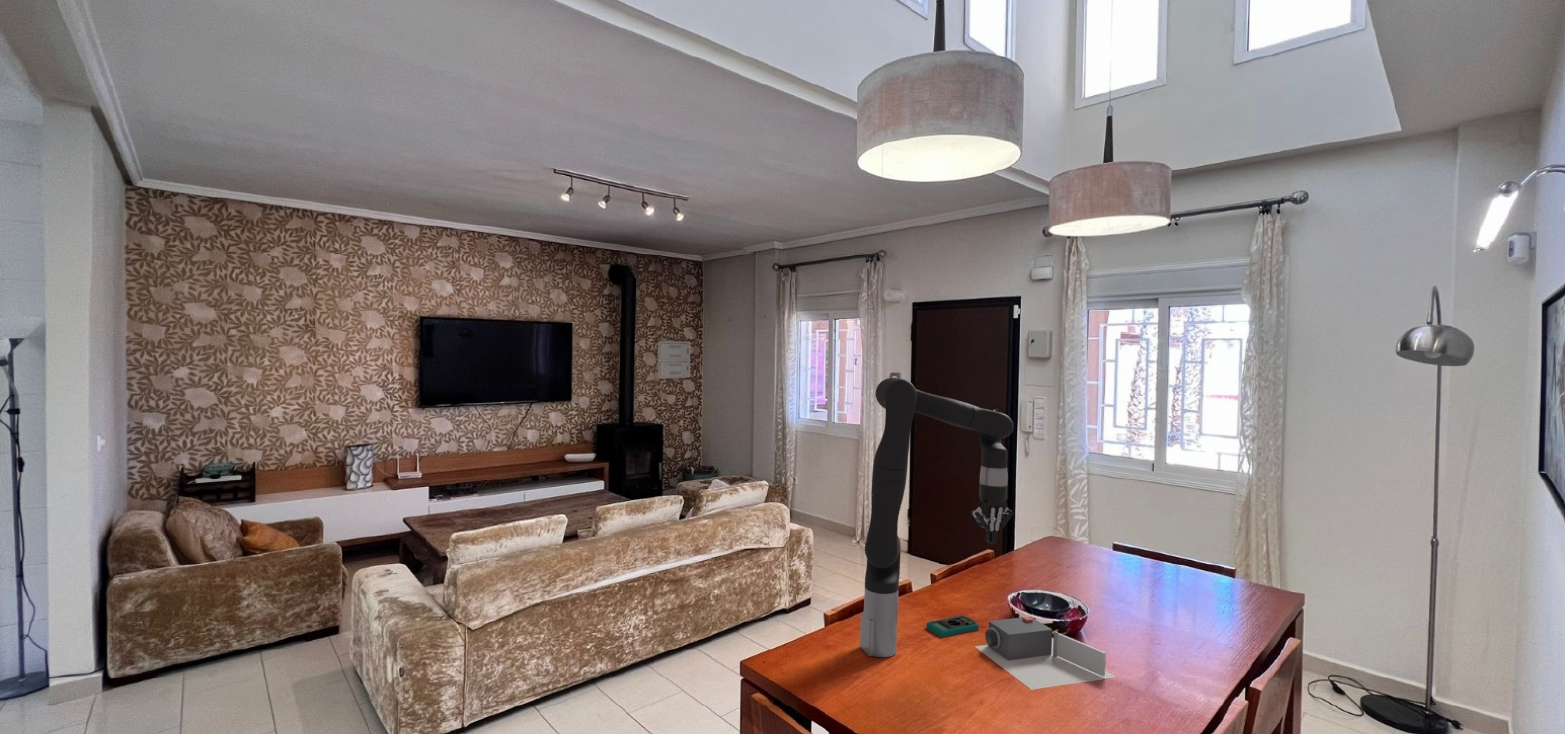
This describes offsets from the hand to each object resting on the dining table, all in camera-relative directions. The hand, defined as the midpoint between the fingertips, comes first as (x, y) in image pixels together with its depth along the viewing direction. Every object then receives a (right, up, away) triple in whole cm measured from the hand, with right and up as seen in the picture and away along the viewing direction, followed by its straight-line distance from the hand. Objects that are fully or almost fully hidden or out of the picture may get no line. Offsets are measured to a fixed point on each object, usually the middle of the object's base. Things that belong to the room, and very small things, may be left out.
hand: (991, 543), depth 181 cm
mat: (+11, -30, -10) cm, 33 cm away
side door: (+19, -29, -12) cm, 37 cm away
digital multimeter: (-9, -29, +9) cm, 32 cm away
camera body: (+7, -29, -4) cm, 30 cm away
